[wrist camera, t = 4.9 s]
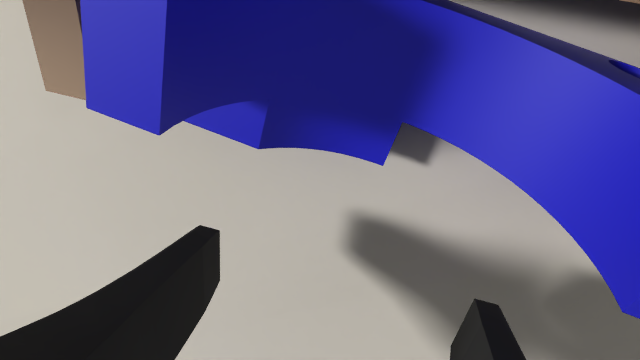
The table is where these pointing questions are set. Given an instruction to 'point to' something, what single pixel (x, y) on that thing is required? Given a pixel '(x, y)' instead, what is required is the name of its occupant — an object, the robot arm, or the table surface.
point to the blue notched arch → (388, 95)
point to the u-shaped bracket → (63, 44)
